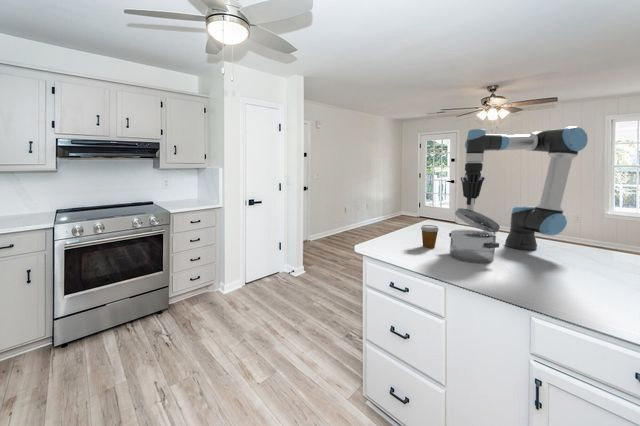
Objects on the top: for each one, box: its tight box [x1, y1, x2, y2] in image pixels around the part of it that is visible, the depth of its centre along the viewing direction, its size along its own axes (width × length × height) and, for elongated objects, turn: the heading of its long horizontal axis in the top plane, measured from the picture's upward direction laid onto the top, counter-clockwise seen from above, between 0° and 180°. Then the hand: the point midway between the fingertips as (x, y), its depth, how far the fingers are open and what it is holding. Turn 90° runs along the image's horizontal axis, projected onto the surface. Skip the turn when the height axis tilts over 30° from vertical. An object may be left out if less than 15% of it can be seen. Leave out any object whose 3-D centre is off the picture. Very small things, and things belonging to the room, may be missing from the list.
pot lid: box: [454, 207, 500, 234], centre depth 150 cm, size 21×21×4 cm
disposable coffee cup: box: [420, 224, 440, 250], centre depth 169 cm, size 10×10×12 cm
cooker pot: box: [448, 228, 500, 264], centre depth 151 cm, size 22×25×12 cm
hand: (469, 211), depth 147 cm, fingers closed
